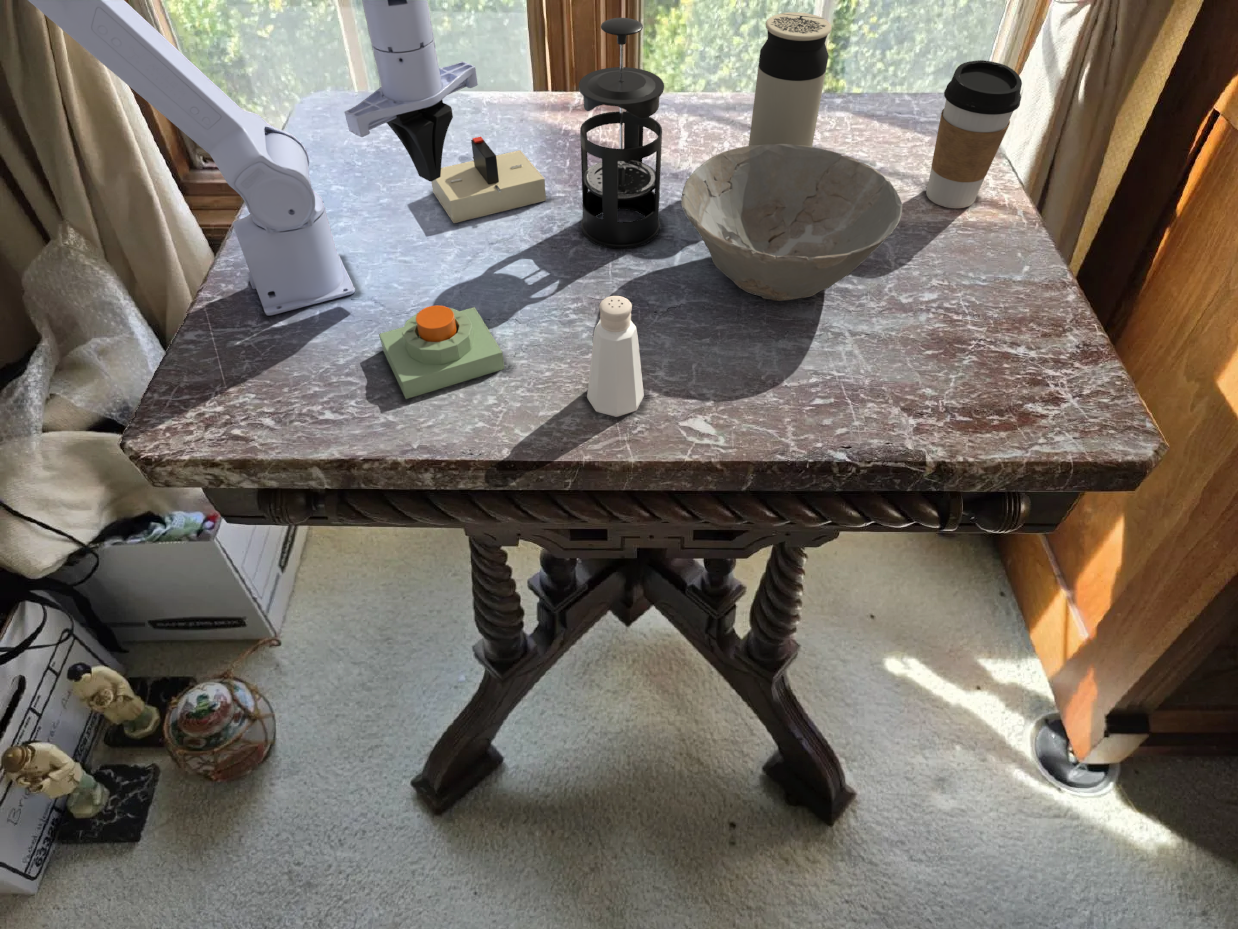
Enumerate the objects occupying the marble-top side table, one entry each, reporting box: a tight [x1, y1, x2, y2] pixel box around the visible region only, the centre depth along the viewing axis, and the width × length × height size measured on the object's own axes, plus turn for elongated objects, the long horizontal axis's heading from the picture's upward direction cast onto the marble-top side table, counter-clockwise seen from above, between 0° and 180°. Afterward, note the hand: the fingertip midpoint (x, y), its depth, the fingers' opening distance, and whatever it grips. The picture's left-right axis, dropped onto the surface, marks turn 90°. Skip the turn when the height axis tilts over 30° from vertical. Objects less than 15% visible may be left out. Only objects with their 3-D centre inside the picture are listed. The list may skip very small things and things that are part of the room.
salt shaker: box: [586, 295, 645, 418], centre depth 77 cm, size 5×5×11 cm
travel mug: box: [748, 11, 832, 147], centre depth 104 cm, size 8×8×18 cm
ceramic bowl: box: [680, 144, 903, 302], centre depth 91 cm, size 22×23×10 cm
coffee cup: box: [925, 59, 1023, 209], centre depth 101 cm, size 8×8×15 cm
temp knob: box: [470, 136, 499, 184], centre depth 102 cm, size 5×1×4 cm, turn 26°
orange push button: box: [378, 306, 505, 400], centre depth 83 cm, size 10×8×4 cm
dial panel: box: [431, 149, 547, 224], centre depth 105 cm, size 12×9×3 cm
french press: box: [578, 17, 665, 250], centre depth 93 cm, size 12×9×23 cm
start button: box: [416, 304, 456, 342], centre depth 81 cm, size 4×4×2 cm
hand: (429, 176), depth 88 cm, fingers closed
